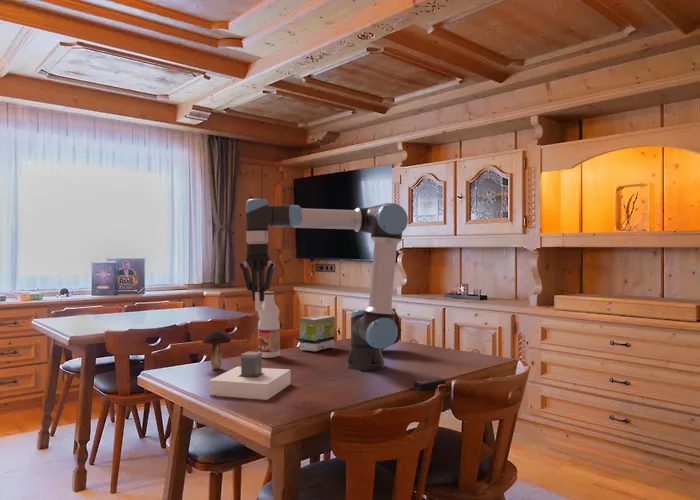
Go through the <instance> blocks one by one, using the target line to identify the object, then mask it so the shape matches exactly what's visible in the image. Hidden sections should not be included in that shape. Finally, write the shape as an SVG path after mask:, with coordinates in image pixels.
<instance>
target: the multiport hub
mask: <svg viewBox="0 0 700 500" xmlns="http://www.w3.org/2000/svg"><path fill="white" fill-rule="evenodd" d="M439 384H445V385H446V379H445V378H441V377H437V376H436V377H432V378H427V379H421V380H416V381H413V389H415V390H418V391H421V392H424V391H429V390H435V389H438V388H437V387H438V385H439Z"/></svg>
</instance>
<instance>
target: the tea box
mask: <svg viewBox="0 0 700 500" xmlns="http://www.w3.org/2000/svg"><path fill="white" fill-rule="evenodd" d="M335 317H336V316H332V315H322V314H321V315H320V314H318V315H312V316H306V317H300V318H299V319H300V320H299V350H303V351H310V352H318V351H322V350H326V349H330V348H334V347H335V329H336V328H335V326H336V325H335V323H336V321H335V320H336V319H335Z"/></svg>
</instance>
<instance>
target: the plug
mask: <svg viewBox="0 0 700 500" xmlns="http://www.w3.org/2000/svg"><path fill="white" fill-rule="evenodd" d="M240 358H241V359H240V361H241V363H240V367H241V377H251V378H257V377H259V376H261V375H262V368H263V367H262V366H263V365H262V363H263V362H262V361H263V360H262V358H263V357H262V352H258V351H246V352H244V353H241V354H240Z"/></svg>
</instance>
